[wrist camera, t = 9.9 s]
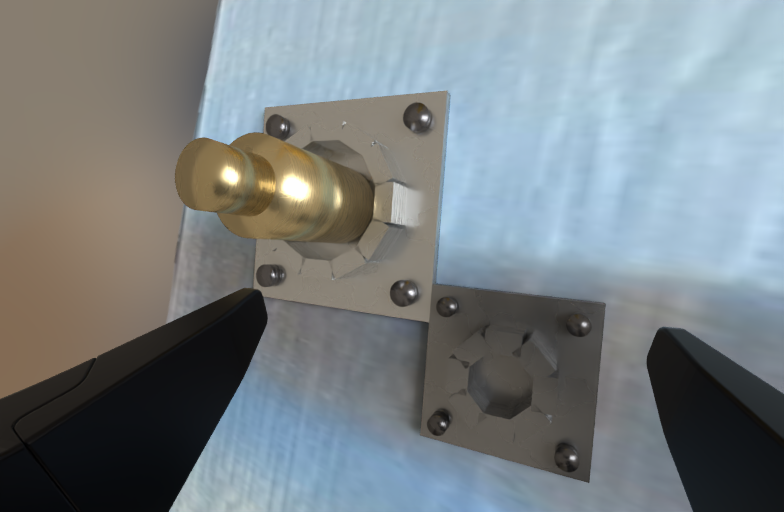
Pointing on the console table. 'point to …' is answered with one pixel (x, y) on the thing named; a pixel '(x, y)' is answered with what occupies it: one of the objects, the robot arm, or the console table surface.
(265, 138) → the gold metal cylinder
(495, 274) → the console table surface
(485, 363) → the flange small
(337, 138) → the flange large
